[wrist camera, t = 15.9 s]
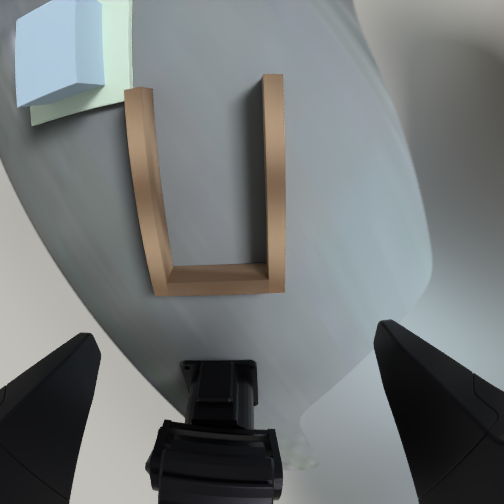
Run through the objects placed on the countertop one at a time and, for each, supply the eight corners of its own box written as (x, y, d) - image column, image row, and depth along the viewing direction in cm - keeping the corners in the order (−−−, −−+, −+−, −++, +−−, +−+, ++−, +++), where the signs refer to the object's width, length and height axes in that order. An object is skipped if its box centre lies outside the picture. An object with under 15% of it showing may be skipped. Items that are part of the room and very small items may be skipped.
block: (105, 85, 15) (76, 82, 12) (49, 104, 15) (17, 107, 12) (102, 4, 12) (76, -11, 9) (46, 27, 12) (16, 20, 9)
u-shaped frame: (281, 274, 21) (284, 292, 19) (162, 278, 21) (154, 296, 19) (278, 78, 16) (282, 74, 14) (137, 91, 16) (123, 90, 14)
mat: (133, 99, 16) (130, 99, 15) (36, 125, 16) (31, 126, 15) (132, -10, 12) (129, -13, 12) (35, 26, 12) (30, 25, 12)
